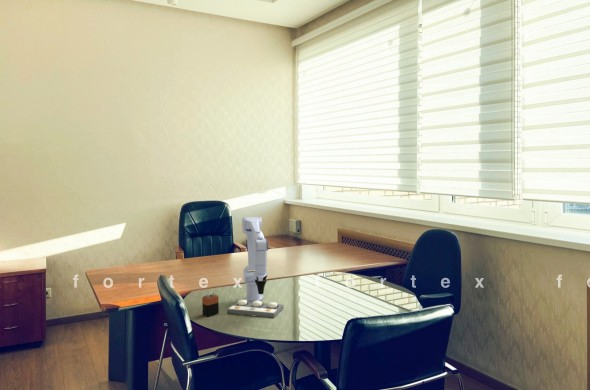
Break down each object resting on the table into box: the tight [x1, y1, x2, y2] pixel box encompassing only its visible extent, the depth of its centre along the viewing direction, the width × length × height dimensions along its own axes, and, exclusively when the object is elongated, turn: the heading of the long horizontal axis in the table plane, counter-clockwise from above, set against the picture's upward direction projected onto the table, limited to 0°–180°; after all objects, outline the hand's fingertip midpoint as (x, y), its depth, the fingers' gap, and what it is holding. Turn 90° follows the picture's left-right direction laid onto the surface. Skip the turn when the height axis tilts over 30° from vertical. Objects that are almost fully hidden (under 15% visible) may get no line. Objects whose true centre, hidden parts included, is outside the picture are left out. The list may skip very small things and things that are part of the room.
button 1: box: [237, 299, 248, 306], centre depth 239 cm, size 4×4×2 cm
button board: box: [227, 301, 284, 319], centre depth 235 cm, size 14×24×2 cm, turn 73°
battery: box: [201, 292, 220, 318], centre depth 230 cm, size 4×7×10 cm, turn 135°
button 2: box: [253, 300, 263, 308], centre depth 237 cm, size 4×4×2 cm
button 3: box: [268, 301, 278, 309], centre depth 235 cm, size 4×4×2 cm
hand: (261, 291), depth 232 cm, fingers open, 7 cm apart
